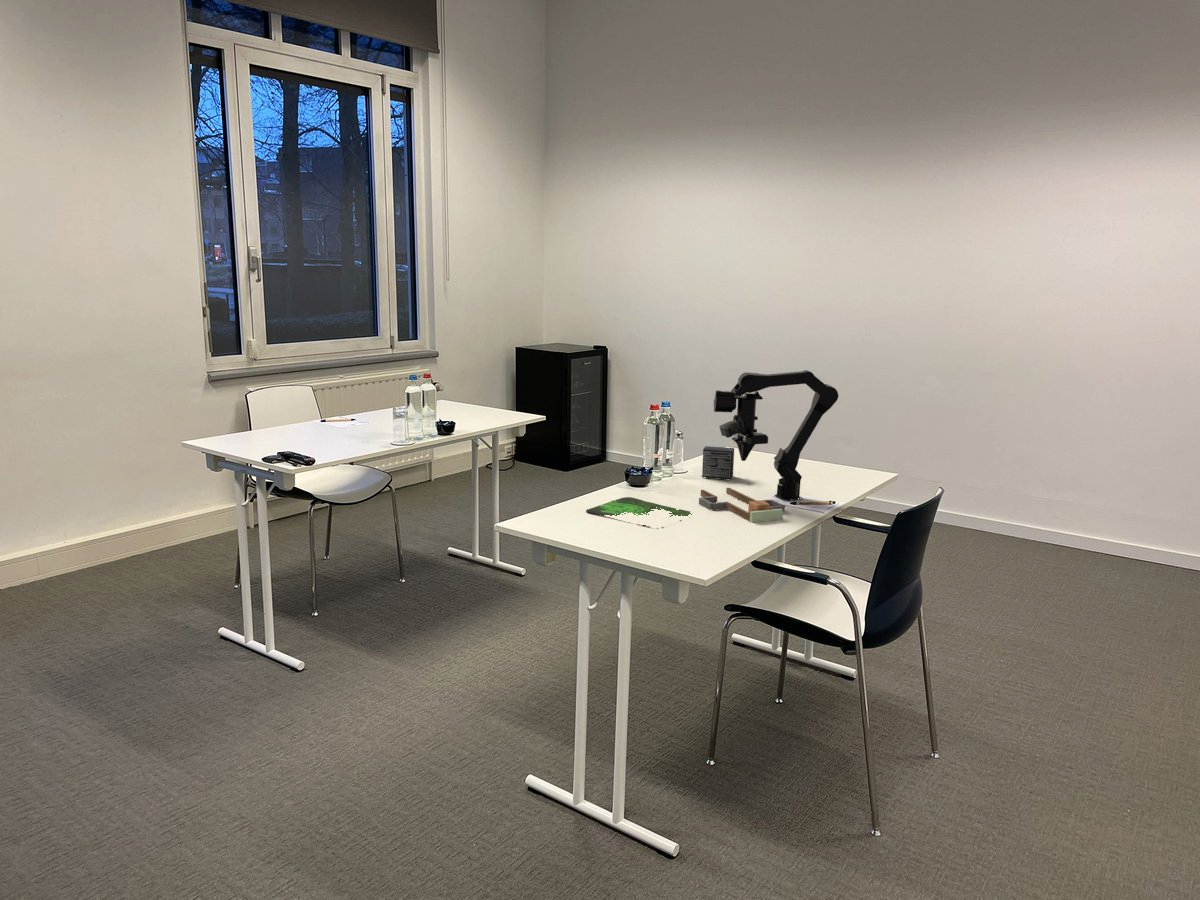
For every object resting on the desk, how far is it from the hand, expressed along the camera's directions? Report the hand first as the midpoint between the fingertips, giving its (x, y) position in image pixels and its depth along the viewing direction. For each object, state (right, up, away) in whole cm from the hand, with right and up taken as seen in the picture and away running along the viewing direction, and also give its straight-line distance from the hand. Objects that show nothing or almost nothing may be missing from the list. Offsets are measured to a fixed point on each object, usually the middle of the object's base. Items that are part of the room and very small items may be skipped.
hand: (743, 460), depth 284 cm
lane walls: (-3, -14, -9) cm, 17 cm away
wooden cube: (+1, -17, -20) cm, 26 cm away
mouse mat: (-34, -16, -18) cm, 42 cm away
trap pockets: (-2, -14, -10) cm, 18 cm away
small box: (-5, -6, +28) cm, 29 cm away
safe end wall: (+3, -17, -23) cm, 29 cm away
